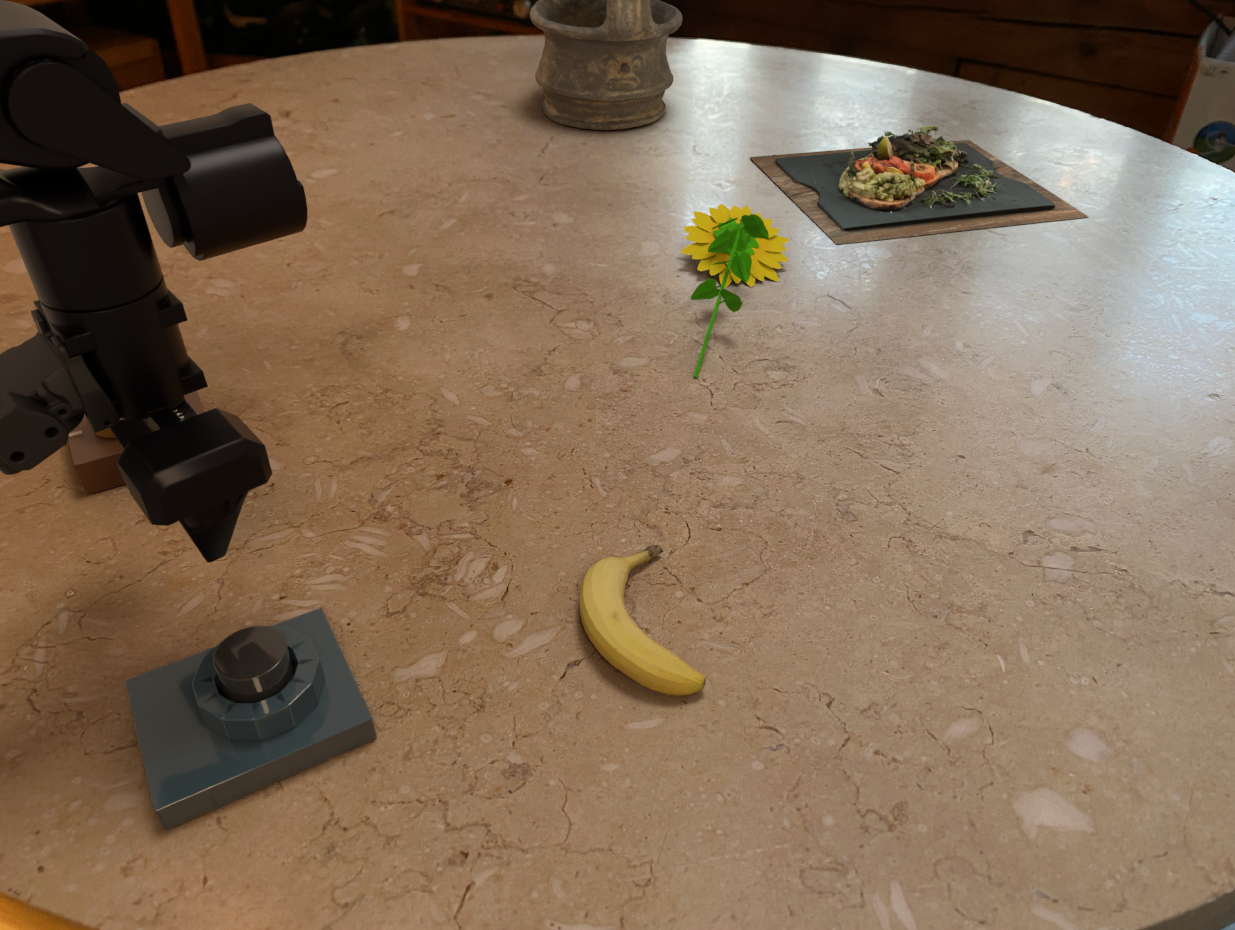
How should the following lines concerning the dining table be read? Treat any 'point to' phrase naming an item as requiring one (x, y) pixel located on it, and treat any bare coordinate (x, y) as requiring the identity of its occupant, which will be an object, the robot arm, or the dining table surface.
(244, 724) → the knob base
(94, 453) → the panel
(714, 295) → the flower
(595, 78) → the clay pot
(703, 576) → the dining table surface
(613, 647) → the fruit
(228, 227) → the robot arm
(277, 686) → the dark rotary knob
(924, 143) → the plated dish
